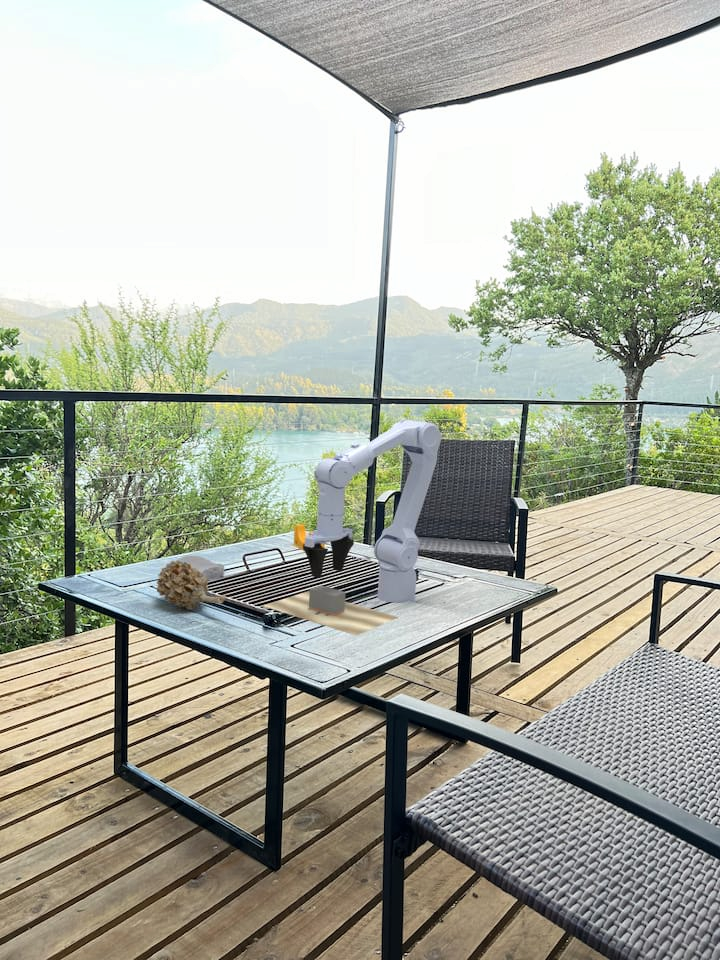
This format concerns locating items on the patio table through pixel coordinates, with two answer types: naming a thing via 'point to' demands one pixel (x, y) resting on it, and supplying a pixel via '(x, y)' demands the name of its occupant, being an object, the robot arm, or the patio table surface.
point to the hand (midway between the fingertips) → (327, 573)
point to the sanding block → (327, 600)
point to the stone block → (204, 566)
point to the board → (347, 621)
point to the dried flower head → (184, 586)
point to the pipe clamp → (301, 536)
